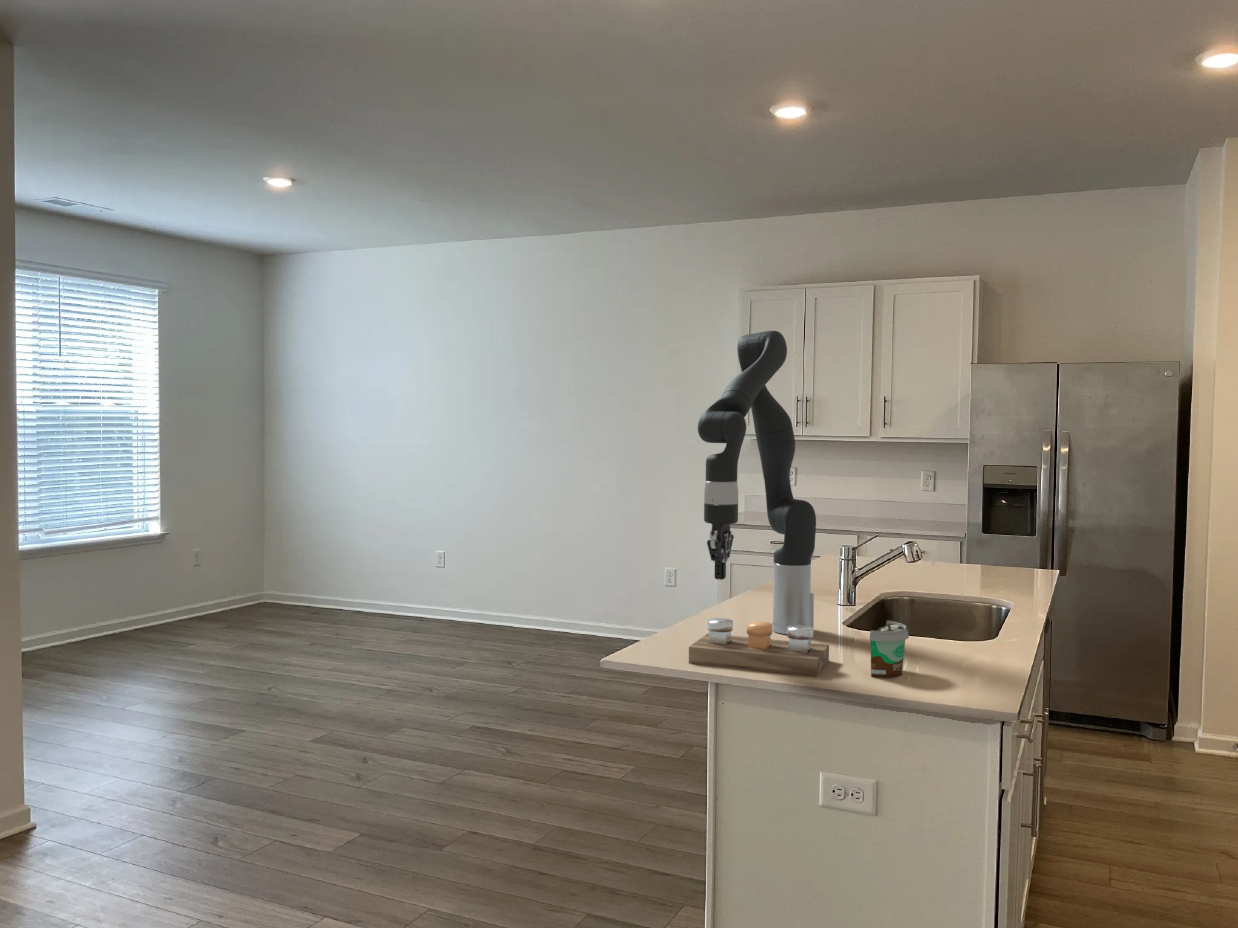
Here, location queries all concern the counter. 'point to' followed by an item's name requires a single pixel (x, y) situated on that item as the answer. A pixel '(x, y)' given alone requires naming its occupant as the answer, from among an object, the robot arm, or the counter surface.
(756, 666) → the knob mount
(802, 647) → the knob
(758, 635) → the knob mid
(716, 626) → the knob
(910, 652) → the counter surface
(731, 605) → the counter surface
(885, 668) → the food container
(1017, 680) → the counter surface
